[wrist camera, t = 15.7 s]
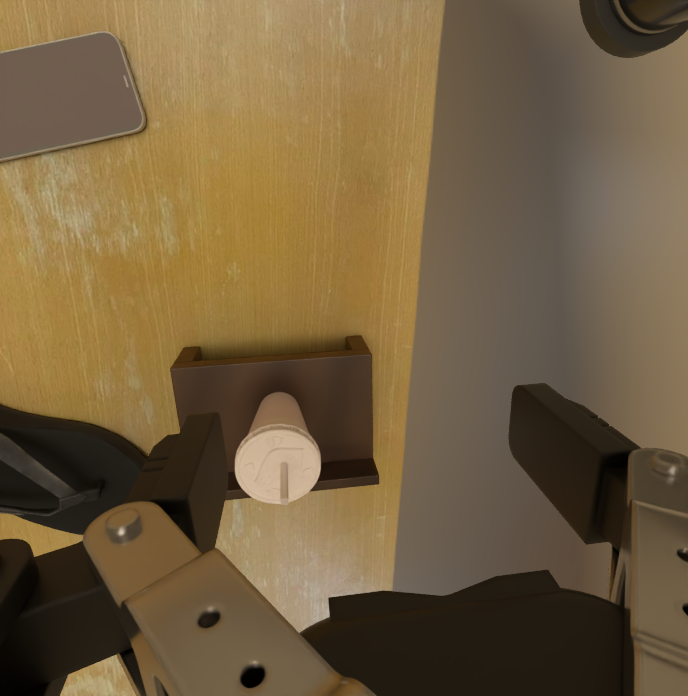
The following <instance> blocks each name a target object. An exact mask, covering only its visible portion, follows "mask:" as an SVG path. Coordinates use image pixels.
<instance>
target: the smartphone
mask: <svg viewBox="0 0 688 696" xmlns="http://www.w3.org/2000/svg"><path fill="white" fill-rule="evenodd" d="M145 125H146V116H145V113H144V109H143V106H142V103H141V100H140V97H139V94H138V91H137V88H136V85H135V82H134V79H133V75H132V72H131V69H130V66H129V63H128V60H127V57H126V54H125V51H124V48H123V45H122V44H121V42H120V41H119V40H118V39H117V38H116V37H115V36H114V35H113V34H112V33H110V32H107V31H99V32H94V33H89V34H84V35H79V36H74V37H69V38H65V39H60V40H55V41H50V42H45V43H40V44H36V45H31V46H26V47H21V48H16V49H11V50H6V51H2V52H0V162H4V161H9V160H13V159H18V158H23V157H27V156H32V155H36V154H41V153H46V152H50V151H55V150H60V149H64V148H69V147H73V146H78V145H83V144H87V143H92V142H97V141H101V140H106V139H110V138H115V137H120V136H124V135H129V134H133V133H137V132H140V131H141V130H143V128H144V127H145Z"/></svg>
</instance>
